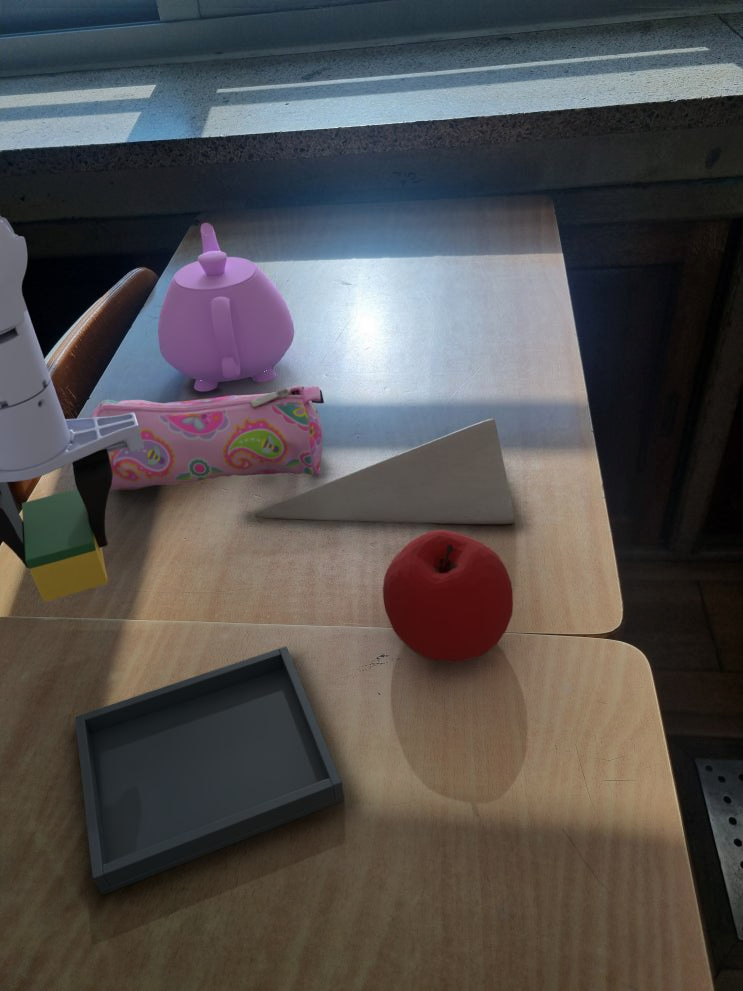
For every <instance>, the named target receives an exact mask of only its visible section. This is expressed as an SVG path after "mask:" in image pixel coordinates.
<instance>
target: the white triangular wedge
mask: <svg viewBox="0 0 743 991" xmlns="http://www.w3.org/2000/svg"><path fill="white" fill-rule="evenodd" d="M496 423H497V422H496V419H495V418H489V419H485V420H482V421H480V422H478V423H474V424H472V425H469V426H467V427H464V428H461V429H459V430H456V431H454V432H452V433H449V434H446V435H443V436H441V437H438V438H436V439H433V440H431V441H429V442H426V443H423V444H421V445H419V446H416V447H413V448H411V449H408V450H406V451H403V452H401V453H399V454H396V455H394V456H390V457H388V458H386V459H383V460H381V461H379V462H376V463H373V464H371V465H369V466H366V467H364V468H361V469H359V470H358V469H357V470H356V471H354V472H351V473H349V474H346V475H344V476H341V477H339V478H336V479H334V480H332V481H331V480H330V481H329V482H327V483H324V484H322V485H319V486H316V487H313V488H311V489H309V490H306V491H304V492H301V493H299V494H297V495H294V496H292V497H289V498H287V499H285V500H281V501H280V502H277V503H274V504H272V505H270V506H267V507H265V508H263V509H261V510H259V511H257V512H255V513H254V517H256V518H263V519H264V518H265V519H285V520H286V519H287V520H312V521H313V520H316V521H345V522H347V521H348V522H377V523H378V522H380V523H381V522H382V523H410V524H411V523H412V524H413V523H414V524H415V523H416V524H451V525H453V524H454V525H511V524H515V522H516V519H515V514H514V508H513V502H512V498H511V492H510V488H509V482H508V478H507V473H506V467H505V462H504V457H503V452H502V448H501V442H500V436H499V433H498V428H497V424H496Z"/></svg>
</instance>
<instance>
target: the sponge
mask: <svg viewBox="0 0 743 991" xmlns="http://www.w3.org/2000/svg"><path fill="white" fill-rule="evenodd" d="M21 510H22V511H21V512H22V521H23V529H24V544H25V560H26V563H27V565H28V568H27V569H29V572H30V574H31V576H32V579H33V581H34V583H35V586H36V588H37V590H38V592H39V594H40V597H41V599H42V601H43V603H46V602H48V601H49V602H50V601H52V600H56V599H59V598H62V597H66V596H71V595H73V594H76V593H79V592H83V591H87V590H90V589H93V588H96V587H101V586H103V585H107V584H109V580H108V575H107V569H106V564H105V559H104V553H103V547H101V548H99V546H98V544H97V541H96V539H95V536H94V534H93V530H92V525H91V521H90V518H89V515H88V512H87V510H86V507H85V505H84V503H83V500H82V498H81V496H80V493H79V491H78V489H77V488H75V489H71V490H66V491H63V492H60V493H55V494H51V495H48V496H44V497H41V498H36V499H33V500H29V501H25V502H22V503H21Z"/></svg>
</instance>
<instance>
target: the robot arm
mask: <svg viewBox="0 0 743 991" xmlns="http://www.w3.org/2000/svg"><path fill="white" fill-rule="evenodd" d="M27 266H28V248H27V243H26V238H25V237H24V236H21V235H20V236H19V235H18V234H16V233H15V231H14V229H13V227H12V225H11V223H10V222H9V221H8V219H7V218H6V217H2V216H1V215H0V541H1V542H2V543H4V544H5V545H6V546H7V547H8V548H9V549H10V550H11V551H12V552H13V553H14V554H15V555H16V556H17V557H18V559H19V560H20V561H21V562H22V563H23V565H24V566H25V568H27V569H29V568H28V565H27V563H26V560H25V544H24V529H23V518H22V516H21V515H20V513H19V511H18V509H17V506H16V503H15V501H14V497H13V496H12V493H11V490H10V486H9V484H8V483H12V482H23V481H28V480H33V479H36V478H40V477H43V476H46V475H48V474H50V473H53V472H55V471H57V470H59V469H61V468H64V467H65V466H69V465H70V464H72V470H73V477H74V483H75V487H76V489H78V491H79V493H80V496H81V498H82V500H83V503H84V505H85V507H86V510H87V512H88V515H89V518H90V521H91V525H92V530H93V534H94V536H95V539H96V541H97V544H98V546H99V548H101V547H102V548H105V547H107V546H108V545H109V543H108V539H107V538H108V537H107V533H106V509H107V503H108V498H109V493H110V490H111V489H110V487H111V485H112V477H113V471H112V466H111V462H110V458H109V452H113V451H117V450H121V449H124V448H128V451H130V452H133V451H137V450H141V449H144V444H143V441H142V437H141V434H140V430H139V427H138V423H137V420H136V417H135V413H128V414H124V415H118V416H109V417H95V418H91V417H83V418H80V417H79V418H65V415H64V412H63V409H62V406H61V403H60V400H59V397H58V395H57V392H56V388H55V386H54V383H53V380H52V377H51V374H50V371H49V368H48V366H47V362H46V360H45V357H44V354H43V351H42V349H41V346H40V343H39V340H38V337H37V334H36V332H35V328H34V326H33V322H32V320H31V316H30V314H29V310H28V307H27V304H26V301H25V298H24V296H23V295H24V294H23V287H22V286H23V281H24V278H25V275H26V271H27Z"/></svg>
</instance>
